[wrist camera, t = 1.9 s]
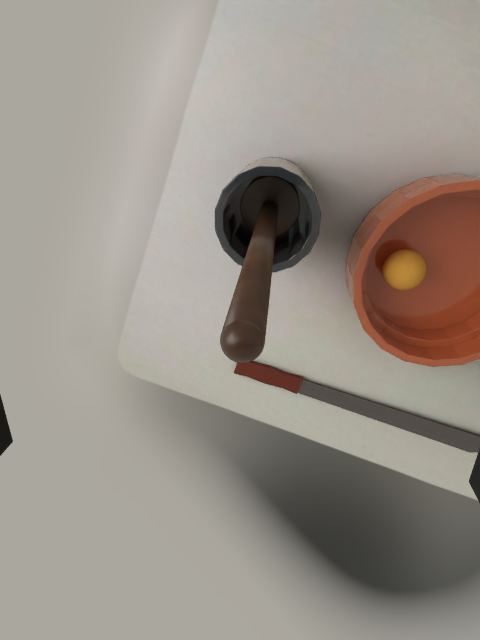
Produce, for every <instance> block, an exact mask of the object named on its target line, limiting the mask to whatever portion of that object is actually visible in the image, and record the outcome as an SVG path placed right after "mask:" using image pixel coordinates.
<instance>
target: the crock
mask: <svg viewBox="0 0 480 640" xmlns="http://www.w3.org/2000/svg"><path fill="white" fill-rule="evenodd" d="M259 176H278V177H281V178H283V179H285V180H287V181H289V182H291V183H292V184H293V185H294V186H295V188H296V190H297V192H298V196H299V202H300V211H299V215H298V218H297V220H296V222H295V224H294V225H293V226H292V227H291V228H290V229H289V230H288V231H287V232H285V233H283V234H281V235H278V236H275V246H274V256H273V266H272V272H273V273H274V272H278V271H281V270H284V269H287V268H290V267H292V266H294V265H296V264H297V263H298V262H299V261H300V260H301V259H303V258H304V257H305V256H306V255H307V254H308V253H309V252H310V251H311V249H312V247H313V245H314V243H315V241H316V239H317V237H318V235H319V228H320V218H321V212H320V209H319V205H318V202H317V199H316V196H315V193H314V190H313V188H312V185H311V183H310V181H309V179H308V178H307V176H306V175H305V174H304V172H303V171H302V170H301V169H300V168H299V167H298V166H297V165H295V164H293V163H292V162H290V161H287V160H285V159H281V158H274V157H271V158H263V159H260V160H257V161H254V162H252V163H250V164H248V165H247V166H246V167H245V168H244V169H243V170H242V171H241V172H240V173H239V174H238V175H237V176H236V177H235V178H234V179H233V180H232V181H231V182H230V183H229V184H228V185H227V186H226V187H225V188H224V189H223V190H222V193H221V195H220V198H219V200H218V203H217V205H216V208H215V231H216V234H217V236H218V239H219V241H220V243H221V246H222V248H223V250H224V251H225V252H226V253H227V254H228V255H229V256H230V257H231V258H232V259H233V260H234V261H235V262H236V263H237V264H239V265H241V266H243V263H244V260H245V257H246V254H247V250H248V247H249V244H250V241H251V238H252V234H253V231H252V230H250V229H249V228H248V226H247V225H246V224H245V222H244V220H243V218H242V215H241V210H240V204H241V199H242V196H243V193H244V191H245V190H246V188H247V187H248V185H249V184H250V183H251V182H252V181H253V180H254V179H256V178H257V177H259Z"/></svg>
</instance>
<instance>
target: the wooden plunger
mask: <svg viewBox="0 0 480 640" xmlns="http://www.w3.org/2000/svg"><path fill="white" fill-rule="evenodd" d="M240 210H241V215H242V218H243V220H244V222H245V224H246V225H247V226H248V228H249V229H250V230H252V231H253V234H252V238H251V241H250V244H249V247H248V250H247V254H246V257H245V260H244V263H243V266H242V269H241V273H240V276H239V279H238V282H237V285H236V289H235V292H234V295H233V298H232V301H231V304H230V308H229V311H228V314H227V317H226V320H225V324H224V327H223V330H222V333H221V338H220V344H221V348H222V350H223V352H224V354H225V355H226V356H227V357H228V358H229V359H231V360H232V361H235V362H238V363H247V362H250V361H253V360H254V359H256V358H257V357H258V356H259V355H260V354H261V352H262V350H263V348H264V345H265V335H266V325H267V315H268V306H269V296H270V286H271V276H272V266H273V256H274V246H275V236H278V235H281V234H283V233H285V232H287V231H288V230H289V229H290V228H291V227H292V226H293V225H294V224H295V222H296V220H297V218H298V215H299V211H300V202H299V196H298V192H297V190H296V188H295V186H294V185H293V184H292V183H291V182H289V181H287V180H285V179H283V178H281V177H278V176H259V177H257V178H256V179H254V180H253V181H252V182H251V183H250V184H249V185H248V187H247V188H246V190H245V191H244V193H243V196H242V199H241V204H240Z"/></svg>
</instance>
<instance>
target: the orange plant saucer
mask: <svg viewBox="0 0 480 640" xmlns="http://www.w3.org/2000/svg"><path fill="white" fill-rule="evenodd" d="M403 249H408V250H413V251H415V252H417V253H418V254H420V255H421V256H422V258H423V259H424V261H425V264H426V274H425V277H424V279H423V281H422V282H421V283H420V284H419V285H418V286H416V287H415V288H412V289H409V290H398V289H395V288H393V287H391V286H390V285H389V284H388V283H387V282H386V281H385V279H384V276H383V265H384V262H385V260H386V259H387V258H388V256H390V255H391V254H392V253H394V252H396V251H398V250H403ZM346 275H347V288H348V291H349V294H350V296H351V299H352V302H353V304H354V307H355V309H356V312H357V314H358V317H359V319H360V322H361V324H362V326H363V329H364V330H365V331H366V333H367V334H368V335H369V336H370V337H371V338H372V339H373V340H374V341H375V342H376V343H377V344H378V346H379V347H380V348H381V349H383V350H385V351H387V352H389V353H390V354H392V355H394V356H396V357H398V358H400V359H401V360H403V361H406V362H411V363H416V364H421V365H426V366H431V367H432V366H433V367H435V366H450V365H462V364H466V363H469V362H472V361H475V360H478V359H480V178H476V177H471V176H466V175H461V174H447V175H440V176H432V177H424V178H422V179H420V180H417V181H415V182H413V183H411V184H408V185H406V186H404V187H402V188H399V189H397V190H395V191H393V192H392V193H391V194H390V195H389V196H387V197H386V198H385V199H384V200H383V201H381V202H380V203H379V204H378V205H377V206H375V207H374V208H373V209H372V210H371V211H370V212H369V214H368V215H367V217H366V218H365V220H364V221H363V222H362V224H361V225H360V227H359V228H358V230H357V231H356V233H355V234H354V236H353V240H352V243H351V247H350V250H349V253H348V257H347V260H346Z"/></svg>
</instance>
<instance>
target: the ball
mask: <svg viewBox="0 0 480 640" xmlns="http://www.w3.org/2000/svg"><path fill="white" fill-rule="evenodd" d="M425 274H426V264H425V261H424V259H423V258H422V256H421V255H420V254H418V253H417V252H415V251H413V250H408V249H403V250H398V251H396V252H394V253H392V254H391V255H390V256H388V258H387V259H386V260H385V262H384V265H383V276H384V279H385V281H386V282H387V283H388V284H389V285H390V286H391V287H393V288H395V289H398V290H409V289H412V288H415V287H416V286H418V285H419V284H420V283H421V282H422V281H423V279H424V277H425Z"/></svg>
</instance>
